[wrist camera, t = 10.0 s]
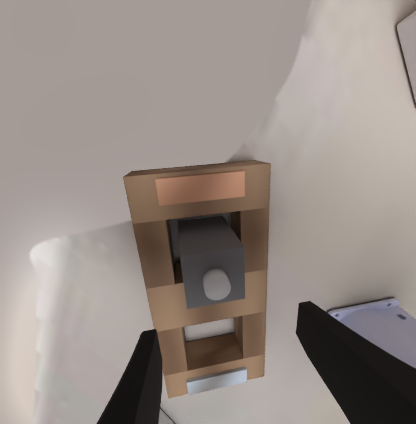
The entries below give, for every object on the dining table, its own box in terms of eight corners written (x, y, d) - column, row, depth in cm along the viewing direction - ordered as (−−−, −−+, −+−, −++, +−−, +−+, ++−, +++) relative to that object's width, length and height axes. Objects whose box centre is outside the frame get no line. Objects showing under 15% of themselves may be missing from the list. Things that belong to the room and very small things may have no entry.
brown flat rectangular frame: (254, 160, 17) (272, 164, 14) (253, 349, 24) (265, 379, 21) (132, 171, 16) (121, 177, 13) (169, 367, 23) (168, 401, 20)
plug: (222, 215, 18) (249, 255, 12) (224, 254, 20) (250, 309, 13) (177, 221, 18) (180, 265, 11) (183, 260, 19) (188, 321, 13)
